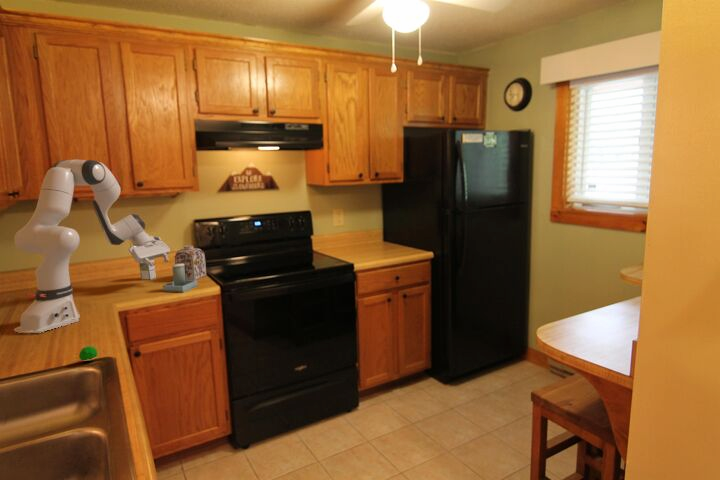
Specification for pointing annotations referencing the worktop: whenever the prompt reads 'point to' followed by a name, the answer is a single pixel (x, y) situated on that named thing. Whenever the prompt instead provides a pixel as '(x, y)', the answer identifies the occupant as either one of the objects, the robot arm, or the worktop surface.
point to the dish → (188, 286)
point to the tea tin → (179, 274)
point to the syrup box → (147, 270)
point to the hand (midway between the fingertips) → (160, 263)
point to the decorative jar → (192, 262)
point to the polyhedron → (88, 353)
